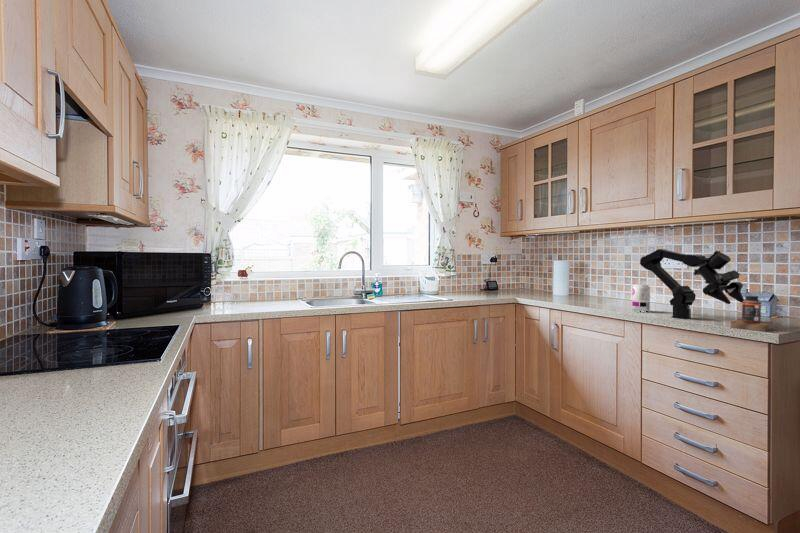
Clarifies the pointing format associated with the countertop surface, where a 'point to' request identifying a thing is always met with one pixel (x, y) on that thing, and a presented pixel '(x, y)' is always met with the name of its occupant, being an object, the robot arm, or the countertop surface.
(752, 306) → the supplement bottle
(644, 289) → the supplement can
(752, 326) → the trivet
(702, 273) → the robot arm
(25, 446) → the countertop surface
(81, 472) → the countertop surface
